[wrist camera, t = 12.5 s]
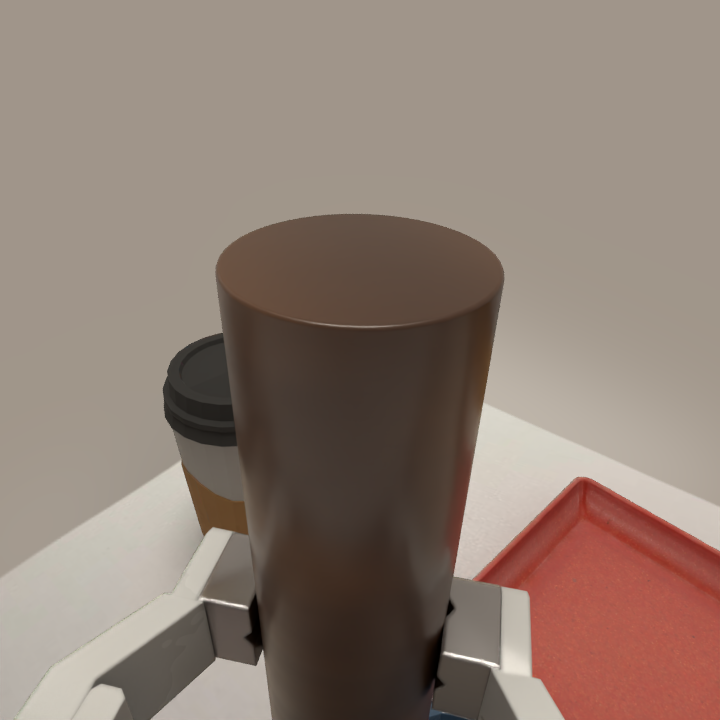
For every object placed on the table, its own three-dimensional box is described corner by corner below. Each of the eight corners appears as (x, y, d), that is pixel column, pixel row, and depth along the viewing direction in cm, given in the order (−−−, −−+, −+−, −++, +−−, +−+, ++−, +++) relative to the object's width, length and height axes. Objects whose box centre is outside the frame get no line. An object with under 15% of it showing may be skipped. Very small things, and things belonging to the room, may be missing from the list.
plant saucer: (570, 501, 43) (581, 469, 41) (858, 675, 32) (890, 642, 30) (414, 663, 32) (419, 629, 30) (769, 1003, 22) (809, 983, 20)
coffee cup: (342, 549, 39) (344, 369, 31) (237, 625, 34) (206, 435, 26) (272, 482, 44) (258, 312, 36) (173, 540, 39) (130, 359, 31)
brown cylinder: (297, 913, 14) (225, 346, 5) (277, 758, 16) (208, 221, 8) (428, 866, 14) (565, 307, 6) (388, 726, 17) (439, 206, 9)
